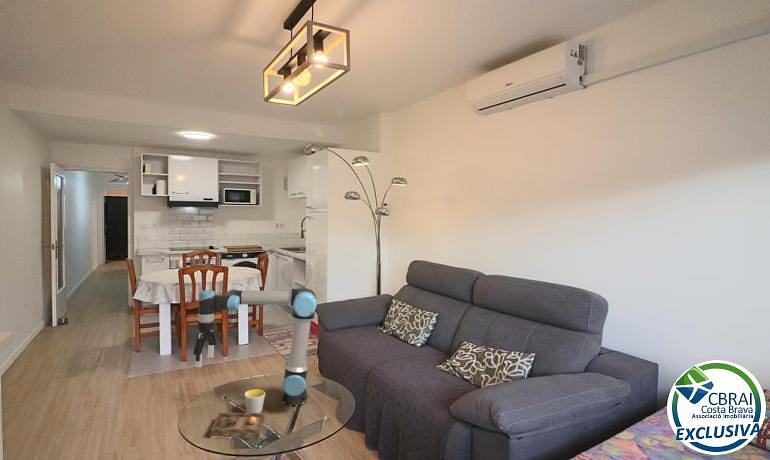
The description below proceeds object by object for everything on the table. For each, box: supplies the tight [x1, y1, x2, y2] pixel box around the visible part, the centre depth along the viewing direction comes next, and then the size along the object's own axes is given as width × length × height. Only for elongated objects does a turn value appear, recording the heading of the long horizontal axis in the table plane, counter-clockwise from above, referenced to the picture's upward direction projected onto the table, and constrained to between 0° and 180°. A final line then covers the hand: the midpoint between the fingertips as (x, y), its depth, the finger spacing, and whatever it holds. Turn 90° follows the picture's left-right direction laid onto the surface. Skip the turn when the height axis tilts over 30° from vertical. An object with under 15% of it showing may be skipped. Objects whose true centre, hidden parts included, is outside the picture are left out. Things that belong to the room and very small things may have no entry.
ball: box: [249, 417, 256, 424], centre depth 204 cm, size 4×4×4 cm
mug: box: [244, 389, 266, 413], centre depth 221 cm, size 14×10×10 cm
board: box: [209, 412, 266, 439], centre depth 203 cm, size 22×16×4 cm
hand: (204, 362), depth 215 cm, fingers open, 13 cm apart
